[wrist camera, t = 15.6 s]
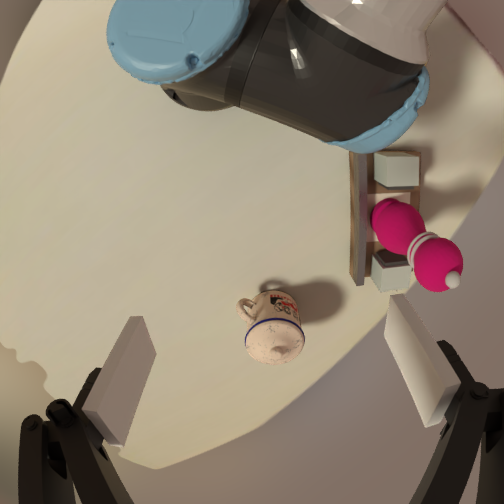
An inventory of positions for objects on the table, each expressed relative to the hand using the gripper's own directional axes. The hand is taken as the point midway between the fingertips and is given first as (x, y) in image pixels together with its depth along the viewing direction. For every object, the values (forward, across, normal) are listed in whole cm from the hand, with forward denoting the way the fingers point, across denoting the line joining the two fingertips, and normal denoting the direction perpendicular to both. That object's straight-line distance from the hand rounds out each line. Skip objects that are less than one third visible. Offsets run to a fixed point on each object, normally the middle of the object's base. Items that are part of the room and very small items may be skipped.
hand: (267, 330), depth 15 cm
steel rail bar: (+30, +14, -5) cm, 33 cm away
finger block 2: (+30, +19, -13) cm, 37 cm away
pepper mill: (+30, +19, -5) cm, 36 cm away
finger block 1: (+30, +19, +3) cm, 35 cm away
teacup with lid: (+32, -1, -20) cm, 38 cm away
